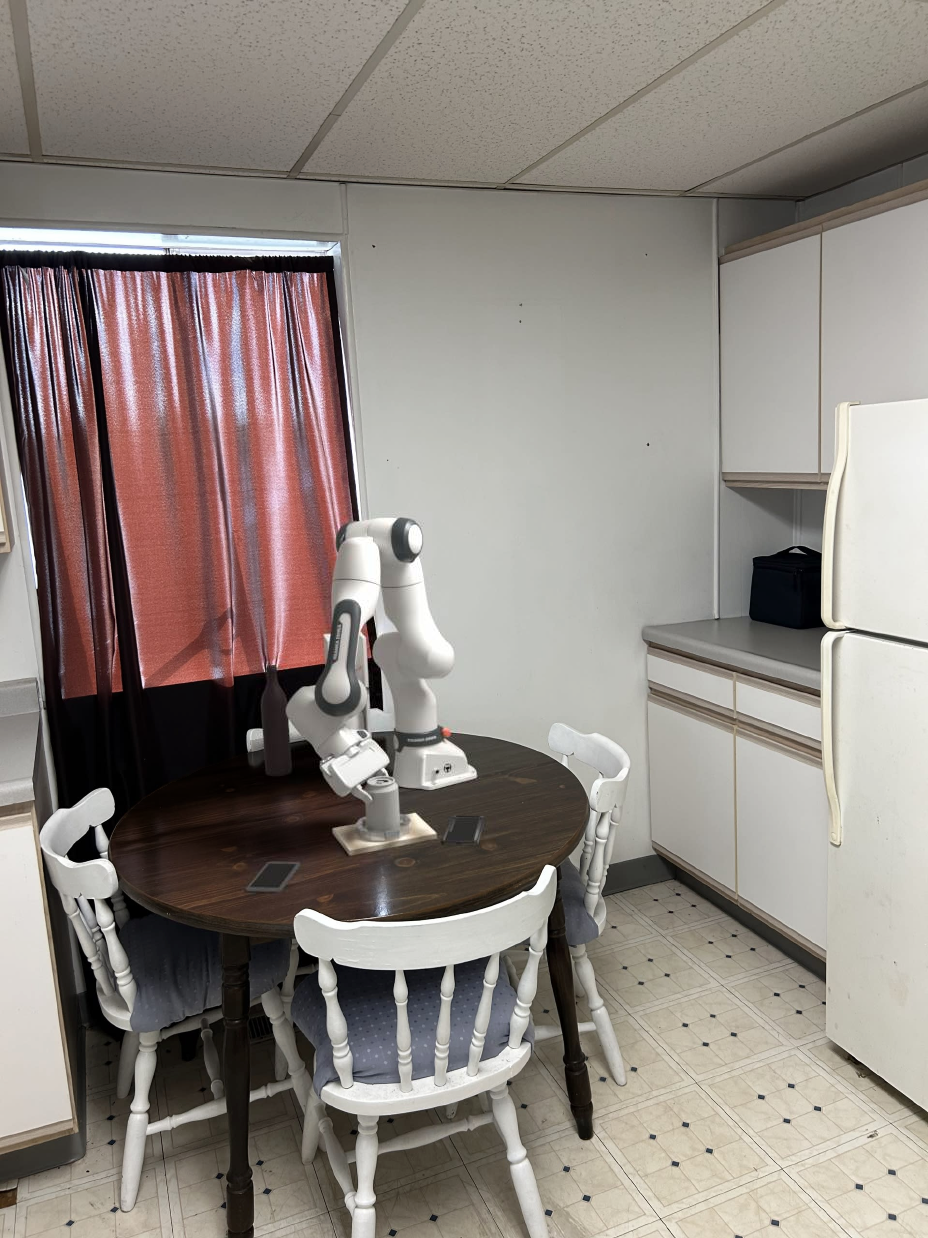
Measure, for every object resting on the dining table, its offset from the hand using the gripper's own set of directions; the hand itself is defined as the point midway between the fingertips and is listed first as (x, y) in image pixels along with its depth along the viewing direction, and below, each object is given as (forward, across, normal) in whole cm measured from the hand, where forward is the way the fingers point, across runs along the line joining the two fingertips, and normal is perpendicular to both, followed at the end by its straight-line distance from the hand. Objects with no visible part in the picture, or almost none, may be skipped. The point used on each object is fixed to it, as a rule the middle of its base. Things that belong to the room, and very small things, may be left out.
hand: (381, 794), depth 211 cm
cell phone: (-1, -26, +16) cm, 30 cm away
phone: (+19, +8, -4) cm, 21 cm away
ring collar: (+6, 0, +6) cm, 8 cm away
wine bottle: (-27, +31, +41) cm, 58 cm away
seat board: (+7, 0, +7) cm, 10 cm away
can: (+6, 0, +6) cm, 9 cm away
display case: (-18, +50, +32) cm, 63 cm away
